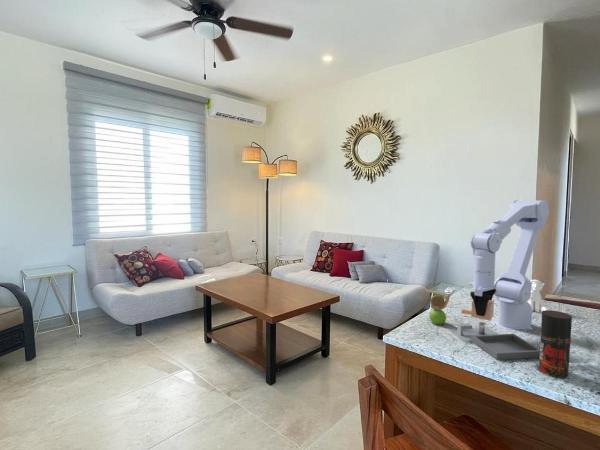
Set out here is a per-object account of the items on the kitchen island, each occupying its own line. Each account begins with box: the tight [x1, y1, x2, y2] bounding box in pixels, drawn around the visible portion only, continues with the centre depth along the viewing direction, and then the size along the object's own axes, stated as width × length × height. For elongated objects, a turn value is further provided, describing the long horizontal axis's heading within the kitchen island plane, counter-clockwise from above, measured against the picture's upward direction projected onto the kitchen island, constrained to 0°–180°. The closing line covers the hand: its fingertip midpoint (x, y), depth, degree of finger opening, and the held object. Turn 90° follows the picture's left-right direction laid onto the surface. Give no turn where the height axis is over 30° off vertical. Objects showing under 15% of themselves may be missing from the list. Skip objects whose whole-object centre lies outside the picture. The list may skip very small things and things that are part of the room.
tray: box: [470, 333, 540, 361], centre depth 96 cm, size 14×12×2 cm
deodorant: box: [538, 309, 573, 379], centre depth 84 cm, size 6×6×15 cm
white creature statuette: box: [527, 279, 549, 314], centre depth 131 cm, size 10×9×12 cm
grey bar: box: [457, 321, 486, 336], centre depth 107 cm, size 8×2×4 cm, turn 95°
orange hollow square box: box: [461, 299, 495, 322], centre depth 108 cm, size 9×5×5 cm, turn 50°
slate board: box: [447, 326, 498, 342], centre depth 107 cm, size 14×9×1 cm, turn 95°
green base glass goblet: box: [429, 290, 451, 326], centre depth 116 cm, size 5×6×12 cm
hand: (482, 312), depth 107 cm, fingers closed on orange hollow square box, 5 cm apart
